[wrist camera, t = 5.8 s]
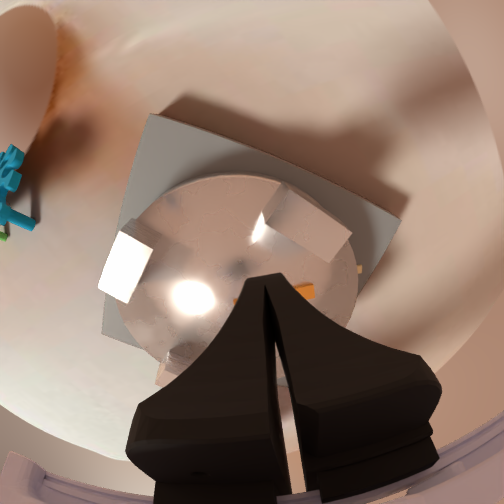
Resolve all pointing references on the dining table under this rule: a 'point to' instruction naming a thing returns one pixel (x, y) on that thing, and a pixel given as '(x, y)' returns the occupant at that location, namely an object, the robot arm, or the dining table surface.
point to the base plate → (237, 159)
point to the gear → (11, 189)
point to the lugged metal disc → (223, 261)
